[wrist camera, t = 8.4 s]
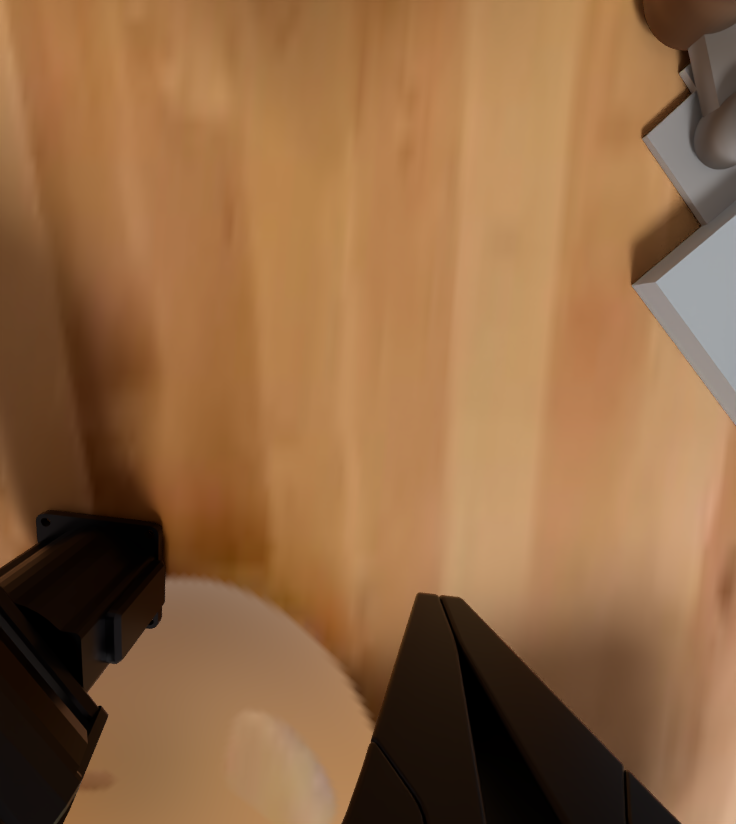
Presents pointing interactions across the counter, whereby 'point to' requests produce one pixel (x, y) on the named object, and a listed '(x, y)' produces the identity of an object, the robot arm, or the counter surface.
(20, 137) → the counter surface
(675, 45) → the tall brown cylinder
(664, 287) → the grey flat piece
